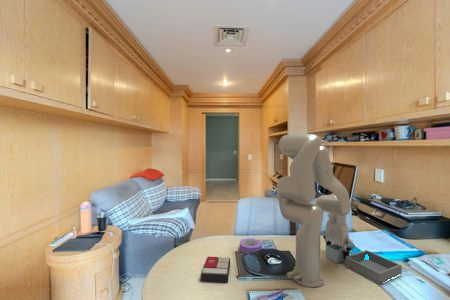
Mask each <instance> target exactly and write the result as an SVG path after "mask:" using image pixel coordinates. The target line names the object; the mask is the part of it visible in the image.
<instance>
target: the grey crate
mask: <svg viewBox="0 0 450 300" xmlns="http://www.w3.org/2000/svg"><path fill="white" fill-rule="evenodd" d="M366 254H368V256H369V260H364V258H365V255H366ZM344 262H345V263H344V265H345V267H346V268H347V269H349V270H351V271H353V272H355V273H356V274H359V275H360V276H362V277H364V278H366V279H367V280H370V281H372V282H373V283H375V284H376V285H378V286H381V285H382V284H381V283H383V282H385V281H387V280H388V279H391V278H392V277H395V276H397V275H399V274H402V273H403V271H402V269H403V266H402V264H400V263H398V262H395V261H393V260H391V259H388V258H386V257H383V256H381V255H379V254H378V253H375V252H372V251H369V250H367V249H365V250H362V251H359V252H356V253H353V254H349V256H346V257H345V261H344ZM380 284H381V285H380ZM383 284H384V283H383Z"/></svg>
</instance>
